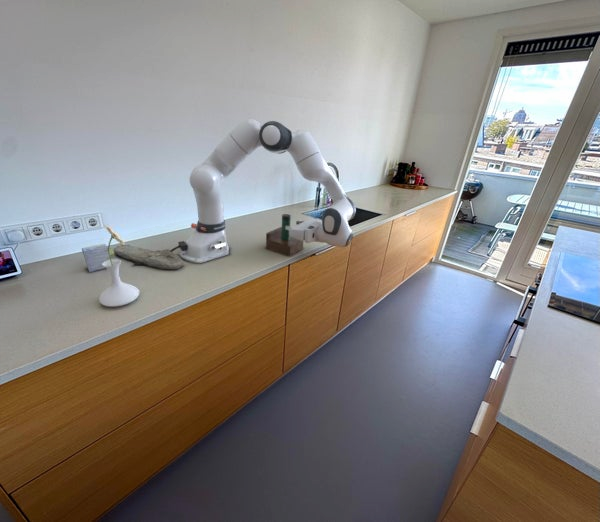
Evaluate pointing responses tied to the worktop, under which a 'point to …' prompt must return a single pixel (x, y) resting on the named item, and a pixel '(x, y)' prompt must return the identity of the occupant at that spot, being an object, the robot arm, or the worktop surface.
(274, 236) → the stand
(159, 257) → the long grey stone
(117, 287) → the flower in vase
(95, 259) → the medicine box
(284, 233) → the marker
